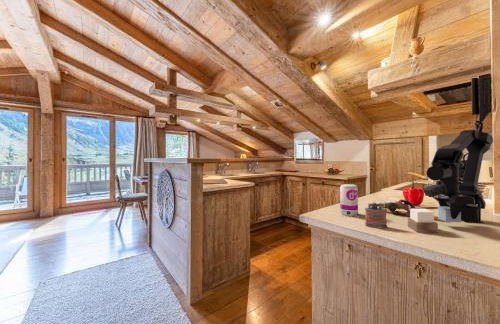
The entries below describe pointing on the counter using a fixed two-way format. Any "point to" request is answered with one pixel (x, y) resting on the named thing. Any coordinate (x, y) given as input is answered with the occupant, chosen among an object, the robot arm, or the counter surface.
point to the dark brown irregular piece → (395, 205)
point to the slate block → (447, 214)
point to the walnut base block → (423, 226)
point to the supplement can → (348, 200)
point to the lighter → (376, 215)
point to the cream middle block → (422, 215)
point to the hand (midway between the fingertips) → (449, 217)
